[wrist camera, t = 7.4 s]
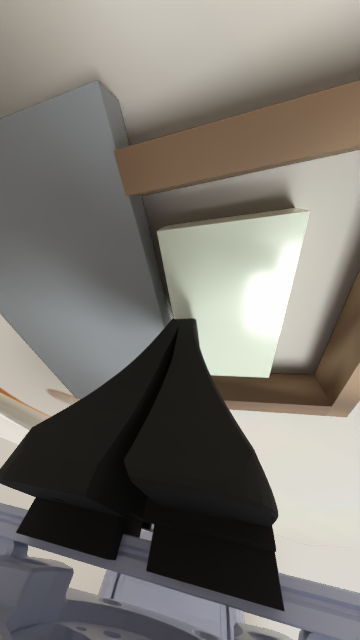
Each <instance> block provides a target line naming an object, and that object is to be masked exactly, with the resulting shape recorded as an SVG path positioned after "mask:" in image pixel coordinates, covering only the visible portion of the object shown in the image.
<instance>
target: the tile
mask: <svg viewBox="0 0 360 640" xmlns="http://www.w3.org/2000/svg"><path fill="white" fill-rule="evenodd" d="M309 214H310V211H308V210H303V209H298V208H290V209H283V210H276V211H268V212H261V213H254V214H247V215H239V216H232V217H225V218H218V219H210V220H203V221H196V222H189V223H181V224H174V225H167V226H164V227H162V228H161V229H159V230H158V231H157V235H158V240H159V246H160V251H161V256H162V261H163V266H164V271H165V276H166V281H167V287H168V292H169V297H170V302H171V307H172V312H173V317H174V319H188V318H194V319H196V321H197V329H198V336H199V344H200V350H201V353H202V356H203V358H204V361H205V363H206V366H207V368H208V370H209V373H210V375H218V376H240V377H262V378H269V376H270V371H271V367H272V363H273V359H274V355H275V351H276V347H277V343H278V339H279V335H280V331H281V327H282V323H283V319H284V315H285V311H286V307H287V303H288V299H289V295H290V291H291V287H292V283H293V279H294V275H295V271H296V267H297V263H298V259H299V255H300V251H301V247H302V243H303V239H304V235H305V231H306V227H307V222H308V218H309Z"/></svg>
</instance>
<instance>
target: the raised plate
mask: <svg viewBox="0 0 360 640" xmlns="http://www.w3.org/2000/svg"><path fill="white" fill-rule="evenodd" d="M127 146H129V142H128V138H127V134H126V130H125V125H124V121H123V117H122V113H121V109H120V104H119V100H118V99H117V98H116V97H115V96H114V95H113V94H111V93H110V92H109V91H108V90H107V89H106V88H105V87H104V86H103V85H102V84H101V83H100V82H99V81H98V80H96V81H94V82H91V83H89V84H86V85H84V86H81V87H79V88H76V89H74V90H71V91H69V92H66V93H64V94H61V95H58V96H56V97H53V98H51V99H48V100H46V101H43V102H41V103H38V104H36V105H33V106H31V107H28V108H26V109H23V110H21V111H18V112H15V113H13V114H10V115H8V116H5V117H3V118H0V314H1V315H2V316H3V317H4V318H5V320H6V321H7V322H8V323H9V324H10V325H11V326H12V327H13V328H14V330H15V331H16V332H17V333H18V334H19V335H20V336H21V337H22V339H23V340H24V341H25V342H26V343H27V344H28V345H29V346H30V347H31V348H32V350H33V351H34V352H35V353H36V354H37V355H38V356H39V357H40V358H41V359H42V361H43V362H44V363H45V364H46V365H47V366H48V367H49V369H51V371H52V372H53V373H54V374H55V375H56V376H57V377H58V379H59V380H60V381H61V382H62V383H63V384H64V385H65V386H66V387H67V389H68V390H69V391H70V392H71V393H72V394H73V395H74V396H75V397H76V398H79V399H82V398H84V397H85V396H87V395H88V394H90V393H91V392H93V391H94V390H96V389H97V388H99V387H100V386H102V385H103V384H104V383H106V382H107V381H108V380H110V379H111V378H112V377H114V376H115V375H116V374H118V373H119V372H120V371H122V370H123V369H124V368H125V367H126V366H128V365H129V364H130V363H131V362H132V361H133V360H134V359H136V358H137V357H138V356H139V355H140V354H141V353H142V352H143V351H144V350H145V349H146V348H147V347H148V346H149V345H150V344H151V343H152V341H153V340H154V339H155V338H156V337H157V336H158V335H159V334H160V333H161V331H162V330H163V329H164V328H165V327H166V326H167V324H168V323H169V322H170V321H171V319H170V315H169V311H168V306H167V302H166V298H165V294H164V290H163V285H162V281H161V277H160V273H159V269H158V264H157V260H156V256H155V252H154V247H153V243H152V239H151V235H150V231H149V226H148V222H147V218H146V214H145V210H144V205H143V201H142V197H141V195H138V196H126V194H125V191H124V187H123V184H122V180H121V176H120V173H119V169H118V166H117V162H116V158H115V155H114V151H113V150H117V149H120V148H124V147H127Z"/></svg>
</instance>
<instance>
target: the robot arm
mask: <svg viewBox="0 0 360 640" xmlns="http://www.w3.org/2000/svg"><path fill="white" fill-rule="evenodd" d="M0 483H1V484H3V485H5V486H8V487H10V488H13V489H16V490H18V491H21V492H24V493H26V494H29V495H31V496H34V497H36V498H35V500H34V502H33V503H32V505H31V507H30V509H29V510H26V509H22V508H18V507H14V506H10V505H6V504H2V503H0V640H292V639H291V638H289V637H288V636H286V635H283V634H281V633H279V632H276V631H273V630H269V629H266V628H261V627H256V626H252V625H247V624H245V622H244V613H243V611H244V612H247V613H251V614H254V615H257V616H260V617H264V618H267V619H270V620H273V621H277V622H280V623H283V624H287V625H290V626H293V627H296V628H300V629H302V630H301V631H300V633H299V639H298V640H360V593H357V592H353V591H349V590H345V589H340V588H337V587H333V586H329V585H324V584H321V583H317V582H313V581H309V580H305V579H301V578H297V577H293V576H289V575H285V574H281V573H278V569H277V563H276V557H275V551H276V546H275V540H274V534H273V528H272V525H273V523H274V522H275V521H276V520H277V518H278V510H277V506H276V502H275V499H274V496H273V493H272V490H271V488H270V485H269V482H268V480H267V478H266V475H265V473H264V471H263V469H262V466H261V464H260V462H259V460H258V458H257V455H256V453H255V450H254V449H253V447H252V446H251V444H250V442H249V441H248V439H247V438H246V436H245V435H244V433H243V432H242V430H241V429H240V427H239V425H238V424H237V422H236V421H235V419H234V417H233V416H232V414H231V412H230V411H229V409H228V407H227V406H226V404H225V402H224V400H223V398H222V396H221V395H220V393H219V391H218V389H217V387H216V385H215V383H214V381H213V379H212V377H211V375H210V373H209V370H208V368H207V366H206V363H205V361H204V358H203V356H202V353H201V350H200V344H199V336H198V329H197V321H196V319H194V318H188V319H172V320H171V321H170V322H169V323H168V324H167V326H166V327H165V328H164V329H163V330H162V331H161V333H160V334H159V335H158V336H157V337H156V338H155V339H154V340H153V341H152V343H151V344H150V345H149V346H148V347H147V348H146V349H145V350H144V351H143V352H142V353H141V354H140V355H139V356H138V357H137V358H136V359H134V360H133V361H132V362H131V363H130V364H129V365H128V366H126V367H125V368H124V369H123V370H122V371H120V372H119V373H118V374H116V375H115V376H114V377H112V378H111V379H110V380H108V381H107V382H106V383H104V384H103V385H102V386H100V387H99V388H97V389H96V390H94V391H93V392H91V393H90V394H88V395H87V396H85V397H84V398H82V399H81V400H79V401H77V402H76V403H74V404H73V405H71V406H69V407H68V408H66V409H64V410H62V411H61V412H59V413H57V414H56V415H54V416H52V417H50V418H48V419H47V420H45V421H43V422H41V423H39V424H38V425H36V426H34V427H32V428H31V430H30V431H29V432H28V434H27V435H26V436H25V438H24V439H23V440H22V441H21V443H20V444H19V445H18V447H17V448H16V449H15V451H14V452H13V453H12V454H11V456H10V457H9V458H8V460H7V461H6V462H5V464H4V465H3V466H2V467H1V469H0ZM141 529H144V530H146V531H142V530H141ZM147 531H149V532H147ZM152 532H153V533H152ZM28 545H29V546H33V547H36V548H39V549H42V550H46V551H49V552H53V553H56V554H59V555H62V556H65V557H68V558H72V559H75V560H78V561H82V562H85V563H88V564H91V565H94V566H98V567H101V568H104V569H107V571H106V574H105V576H104V579H103V582H102V585H101V588H100V591H99V595H95V594H91V593H87V592H84V591H80V590H76V589H72V588H69V584H70V581H71V578H72V576H73V568H71V567H69V566H68V565H66V564H64V563H62V562H59V561H55V560H50V559H43V558H36V557H28V556H27V550H28Z"/></svg>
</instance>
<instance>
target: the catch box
mask: <svg viewBox="0 0 360 640" xmlns="http://www.w3.org/2000/svg"><path fill="white" fill-rule="evenodd" d="M355 150H360V80H358V81H354V82H351V83H347V84H344V85H340V86H337V87H333V88H330V89H326V90H323V91H319V92H316V93H312V94H309V95H305V96H302V97H298V98H295V99H291V100H288V101H284V102H281V103H277V104H274V105H270V106H267V107H264V108H260V109H257V110H253V111H250V112H246V113H243V114H239V115H236V116H232V117H229V118H225V119H222V120H218V121H215V122H211V123H208V124H204V125H201V126H197V127H194V128H190V129H187V130H183V131H180V132H176V133H173V134H169V135H166V136H162V137H159V138H155V139H152V140H148V141H145V142H141V143H138V144H134V145H131V146H127V147H124V148H120V149H117V150H113V151H114V155H115V158H116V162H117V166H118V169H119V173H120V176H121V180H122V184H123V187H124V191H125V194H126V196H138V195H149V194H154V193H159V192H163V191H168V190H173V189H178V188H182V187H187V186H192V185H196V184H201V183H206V182H210V181H215V180H220V179H224V178H229V177H234V176H238V175H243V174H248V173H252V172H257V171H262V170H266V169H271V168H276V167H281V166H285V165H290V164H295V163H299V162H304V161H309V160H313V159H318V158H323V157H327V156H332V155H337V154H341V153H346V152H351V151H355ZM211 377H212V379H213V381H214V383H215V385H216V387H217V389H218V391H219V393H220V395H221V396H222V398H223V400H224V402H225V404H226V406H227V407H228V409H233V410H248V411H262V412H277V413H292V414H306V415H321V416H336V417H347V416H348V415H349V414H350V412H351V411H352V410H353V408H354V407H355V406H356V404H357V403H358V402H359V401H360V270H359V273H358V275H357V277H356V280H355V282H354V284H353V287H352V289H351V291H350V294H349V296H348V298H347V300H346V303H345V305H344V307H343V310H342V312H341V314H340V317H339V319H338V321H337V324H336V326H335V328H334V330H333V333H332V335H331V337H330V340H329V342H328V344H327V347H326V349H325V351H324V354H323V356H322V358H321V360H320V363H319V365H318V367H317V370H316V372H315V374H314V375H306V374H270V376H269V378H262V377H240V376H218V375H211Z"/></svg>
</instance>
